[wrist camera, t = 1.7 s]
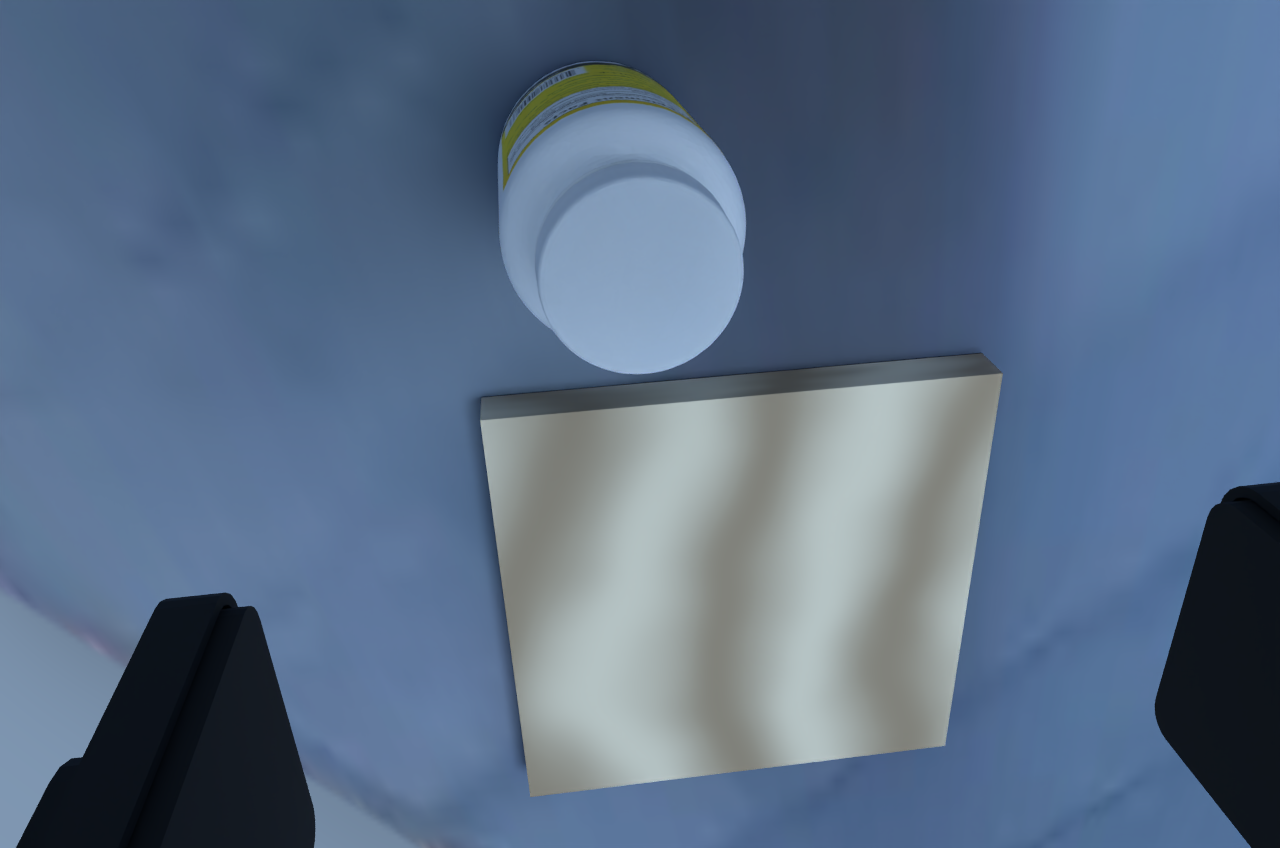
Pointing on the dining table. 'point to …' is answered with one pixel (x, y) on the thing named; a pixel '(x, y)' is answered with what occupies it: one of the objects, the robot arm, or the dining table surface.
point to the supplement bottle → (619, 218)
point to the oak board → (737, 565)
